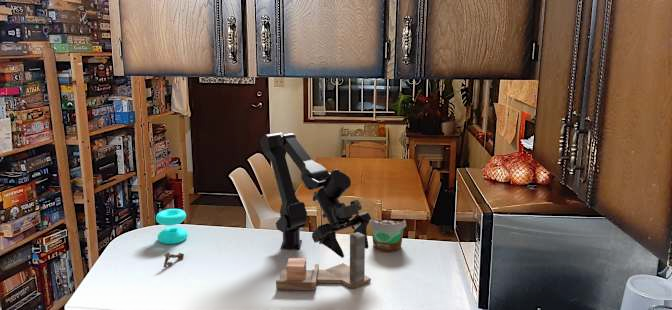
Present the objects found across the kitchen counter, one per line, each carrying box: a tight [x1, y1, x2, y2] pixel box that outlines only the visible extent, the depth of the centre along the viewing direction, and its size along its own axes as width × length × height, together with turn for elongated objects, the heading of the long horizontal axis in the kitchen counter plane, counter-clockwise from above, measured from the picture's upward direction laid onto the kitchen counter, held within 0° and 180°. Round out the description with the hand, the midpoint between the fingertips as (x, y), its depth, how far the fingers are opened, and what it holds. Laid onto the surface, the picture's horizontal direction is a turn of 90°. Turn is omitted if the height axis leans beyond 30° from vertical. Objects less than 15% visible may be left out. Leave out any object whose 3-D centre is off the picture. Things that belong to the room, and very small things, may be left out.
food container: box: [368, 218, 407, 253], centre depth 166 cm, size 12×6×10 cm, turn 80°
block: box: [285, 257, 307, 280], centre depth 146 cm, size 5×5×5 cm
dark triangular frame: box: [163, 252, 185, 268], centre depth 158 cm, size 2×8×4 cm, turn 157°
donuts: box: [155, 208, 189, 245], centre depth 175 cm, size 10×10×10 cm
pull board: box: [275, 232, 372, 291], centre depth 145 cm, size 21×24×15 cm
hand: (355, 252), depth 144 cm, fingers open, 9 cm apart
